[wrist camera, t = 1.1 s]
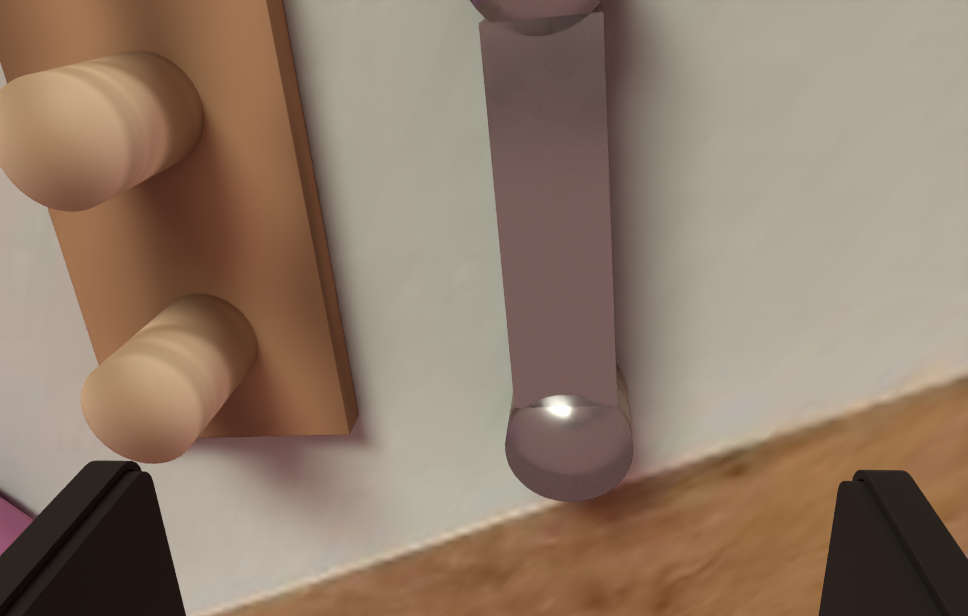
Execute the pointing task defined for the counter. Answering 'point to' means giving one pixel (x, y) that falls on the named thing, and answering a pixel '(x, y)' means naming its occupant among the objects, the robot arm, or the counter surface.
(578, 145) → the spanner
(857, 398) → the counter surface
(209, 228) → the tool rest
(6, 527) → the teapot
